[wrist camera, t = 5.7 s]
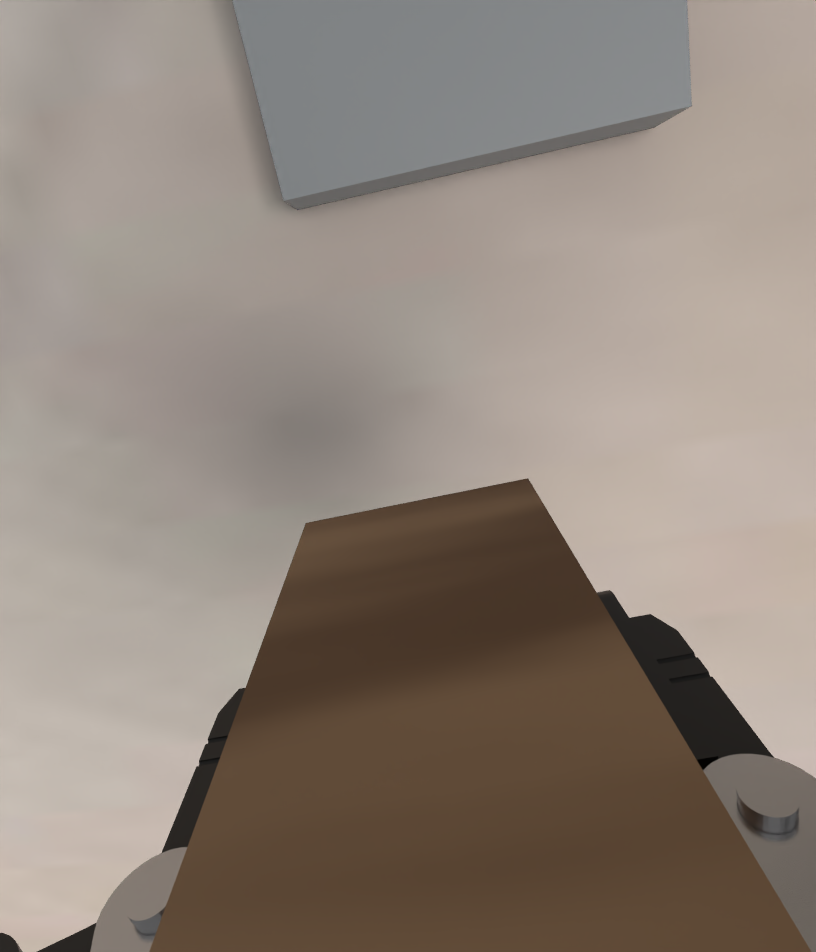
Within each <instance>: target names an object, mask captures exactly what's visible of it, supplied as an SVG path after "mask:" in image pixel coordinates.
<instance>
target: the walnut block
mask: <svg viewBox="0 0 816 952" xmlns="http://www.w3.org/2000/svg"><path fill="white" fill-rule="evenodd" d="M149 952H811V950H810V948H809V947H808V945H807V943H806V942H805V940H804V938H803V937H802V935H801V933H800V932H799V930H798V928H797V927H796V925H795V923H794V922H793V920H792V918H791V917H790V915H789V913H788V912H787V910H786V908H785V907H784V905H783V903H782V902H781V900H780V898H779V897H778V895H777V893H776V892H775V890H774V888H773V887H772V885H771V883H770V882H769V880H768V878H767V877H766V875H765V873H764V872H763V870H762V868H761V867H760V865H759V863H758V862H757V860H756V858H755V857H754V855H753V853H752V852H751V850H750V848H749V847H748V845H747V843H746V842H745V840H744V838H743V837H742V835H741V833H740V832H739V830H738V828H737V827H736V825H735V823H734V822H733V820H732V818H731V817H730V815H729V813H728V812H727V810H726V808H725V807H724V805H723V803H722V802H721V800H720V798H719V797H718V795H717V793H716V792H715V790H714V788H713V786H712V785H711V783H710V781H709V780H708V778H707V776H706V775H705V773H704V771H703V770H702V768H701V766H700V765H699V763H698V761H697V760H696V758H695V756H694V755H693V753H692V751H691V750H690V748H689V746H688V745H687V743H686V741H685V740H684V738H683V736H682V735H681V733H680V731H679V730H678V728H677V726H676V725H675V723H674V721H673V720H672V718H671V716H670V715H669V713H668V711H667V710H666V708H665V706H664V705H663V703H662V701H661V700H660V698H659V696H658V695H657V693H656V691H655V690H654V688H653V686H652V685H651V683H650V681H649V680H648V678H647V676H646V675H645V673H644V671H643V670H642V668H641V666H640V665H639V663H638V661H637V660H636V658H635V656H634V655H633V653H632V651H631V650H630V648H629V646H628V645H627V643H626V641H625V640H624V638H623V636H622V635H621V633H620V631H619V630H618V628H617V626H616V625H615V623H614V621H613V620H612V618H611V616H610V615H609V613H608V611H607V610H606V608H605V606H604V604H603V603H602V601H601V599H600V598H599V596H598V594H597V593H596V591H595V589H594V588H593V586H592V584H591V583H590V581H589V579H588V578H587V576H586V574H585V573H584V571H583V569H582V568H581V566H580V564H579V563H578V561H577V559H576V558H575V556H574V554H573V553H572V551H571V549H570V548H569V546H568V544H567V543H566V541H565V539H564V538H563V536H562V534H561V533H560V531H559V529H558V528H557V526H556V524H555V523H554V521H553V519H552V518H551V516H550V514H549V513H548V511H547V509H546V508H545V506H544V504H543V503H542V501H541V499H540V498H539V496H538V494H537V493H536V491H535V489H534V488H533V486H532V484H531V483H530V481H529V479H523V480H518V481H513V482H508V483H503V484H498V485H493V486H488V487H483V488H478V489H473V490H468V491H463V492H458V493H453V494H448V495H443V496H438V497H433V498H428V499H423V500H418V501H413V502H408V503H403V504H398V505H393V506H388V507H384V508H379V509H374V510H369V511H364V512H359V513H354V514H349V515H344V516H339V517H334V518H329V519H324V520H319V521H314V522H309V523H306V524H305V527H304V530H303V533H302V535H301V538H300V541H299V543H298V546H297V549H296V552H295V554H294V557H293V560H292V563H291V565H290V568H289V571H288V574H287V576H286V579H285V582H284V584H283V587H282V590H281V593H280V595H279V598H278V601H277V604H276V606H275V609H274V612H273V615H272V617H271V620H270V623H269V625H268V628H267V631H266V634H265V636H264V639H263V642H262V645H261V647H260V650H259V653H258V656H257V658H256V661H255V664H254V666H253V669H252V672H251V675H250V677H249V680H248V683H247V686H246V688H245V691H244V694H243V697H242V699H241V702H240V705H239V707H238V710H237V713H236V716H235V718H234V721H233V724H232V727H231V729H230V732H229V735H228V738H227V740H226V743H225V746H224V749H223V751H222V754H221V757H220V759H219V762H218V765H217V768H216V770H215V773H214V776H213V779H212V781H211V784H210V787H209V790H208V792H207V795H206V798H205V800H204V803H203V806H202V809H201V811H200V814H199V817H198V820H197V822H196V825H195V828H194V831H193V833H192V836H191V839H190V841H189V844H188V847H187V850H186V852H185V855H184V858H183V861H182V863H181V866H180V869H179V872H178V874H177V877H176V880H175V882H174V885H173V888H172V891H171V893H170V896H169V899H168V902H167V904H166V907H165V910H164V913H163V915H162V918H161V921H160V923H159V926H158V929H157V932H156V934H155V937H154V940H153V943H152V945H151V948H150V951H149Z"/></svg>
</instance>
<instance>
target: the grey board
mask: <svg viewBox="0 0 816 952" xmlns="http://www.w3.org/2000/svg"><path fill="white" fill-rule="evenodd" d="M232 1H233V5H234V9H235V13H236V17H237V21H238V25H239V29H240V33H241V37H242V40H243V44H244V48H245V52H246V56H247V60H248V64H249V68H250V72H251V76H252V80H253V84H254V87H255V91H256V95H257V99H258V103H259V107H260V111H261V115H262V119H263V123H264V127H265V130H266V134H267V138H268V142H269V146H270V150H271V154H272V158H273V162H274V166H275V170H276V173H277V177H278V181H279V185H280V189H281V193H282V197H283V201H285V202H286V203H288V204H289V205H291V206H292V207H294V208H296V209H297V210H299V209H303V208H308V207H312V206H316V205H321V204H325V203H329V202H334V201H338V200H342V199H347V198H351V197H355V196H360V195H364V194H368V193H373V192H377V191H381V190H386V189H390V188H394V187H399V186H403V185H407V184H412V183H416V182H420V181H424V180H429V179H433V178H437V177H442V176H446V175H450V174H455V173H459V172H463V171H468V170H472V169H476V168H481V167H485V166H489V165H494V164H498V163H502V162H507V161H511V160H515V159H520V158H524V157H528V156H533V155H537V154H541V153H546V152H550V151H554V150H559V149H563V148H567V147H572V146H576V145H580V144H585V143H589V142H593V141H598V140H602V139H606V138H611V137H615V136H619V135H623V134H628V133H632V132H636V131H641V130H645V129H649V128H654V127H656V126H658V125H659V124H661V123H663V122H665V121H666V120H668V119H670V118H672V117H673V116H675V115H677V114H679V113H680V112H682V111H684V110H686V109H687V108H689V107H691V106H692V102H691V79H690V55H689V32H688V9H687V0H232Z"/></svg>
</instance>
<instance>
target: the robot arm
mask: <svg viewBox="0 0 816 952" xmlns="http://www.w3.org/2000/svg"><path fill="white" fill-rule="evenodd" d="M597 594H598V596H599V598H600V599H601V601H602V603H603V604H604V606H605V608H606V610H607V611H608V613H609V615H610V616H611V618H612V620H613V621H614V623H615V625H616V626H617V628H618V630H619V631H620V633H621V635H622V636H623V638H624V640H625V641H626V643H627V645H628V646H629V648H630V650H631V651H632V653H633V655H634V656H635V658H636V660H637V661H638V663H639V665H640V666H641V668H642V670H643V671H644V673H645V675H646V676H647V678H648V680H649V681H650V683H651V685H652V686H653V688H654V690H655V691H656V693H657V695H658V696H659V698H660V700H661V701H662V703H663V705H664V706H665V708H666V710H667V711H668V713H669V715H670V716H671V718H672V720H673V721H674V723H675V725H676V726H677V728H678V730H679V731H680V733H681V735H682V736H683V738H684V740H685V741H686V743H687V745H688V746H689V748H690V750H691V751H692V753H693V755H694V756H695V758H696V760H697V761H698V763H699V765H700V766H701V768H702V770H703V771H704V773H705V775H706V776H707V778H708V780H709V781H710V783H711V785H712V786H713V788H714V790H715V792H716V793H717V795H718V797H719V798H720V800H721V802H722V803H723V805H724V807H725V808H726V810H727V812H728V813H729V815H730V817H731V818H732V820H733V822H734V823H735V825H736V827H737V828H738V830H739V832H740V833H741V835H742V837H743V838H744V840H745V842H746V843H747V845H748V847H749V848H750V850H751V852H752V853H753V855H754V857H755V858H756V860H757V862H758V863H759V865H760V867H761V868H762V870H763V872H764V873H765V875H766V877H767V878H768V880H769V882H770V883H771V885H772V887H773V888H774V890H775V892H776V893H777V895H778V897H779V898H780V900H781V902H782V903H783V905H784V907H785V908H786V910H787V912H788V913H789V915H790V917H791V918H792V920H793V922H794V923H795V925H796V927H797V928H798V930H799V932H800V933H801V935H802V937H803V938H804V940H805V942H806V943H807V945H808V947H809V948H810V950H811V952H816V778H814V777H813V776H812V775H810V774H809V773H807V772H805V771H804V770H802V769H800V768H799V767H796V766H794V765H792V764H790V763H788V762H785V761H782V760H780V759H777V758H774V757H773V756H772V755H771V753H770V752H769V751H768V750H767V748H766V747H765V746H764V744H763V743H762V742H761V740H760V739H759V738H758V736H757V735H756V734H755V732H754V731H753V730H752V728H751V727H750V726H749V724H748V723H747V722H746V721H745V719H744V718H743V717H742V715H741V714H740V713H739V711H738V710H737V709H736V707H735V706H734V705H733V703H732V702H731V701H730V699H729V698H728V697H727V695H726V694H725V693H724V691H723V690H722V689H721V687H720V686H719V685H718V684H717V682H716V681H715V680H714V678H713V677H710V675H709V672H708V670H707V669H706V668H705V666H704V665H703V664H702V662H701V661H700V660H699V658H698V657H697V658H696V657H695V654H694V652H693V650H692V649H691V648H690V647H689V645H688V644H687V643H686V641H685V640H684V639H683V637H682V636H681V635H680V633H679V632H678V631H677V630H676V629H674V628H672V627H671V626H669V625H667V624H666V623H664V622H663V621H661V620H659V619H658V618H656V617H654V616H653V615H651V614H649V615H643V616H638V617H632V618H629V617H628V615H627V614H626V612H625V611H624V609H623V608H622V606H621V605H620V603H619V602H618V600H617V598H616V597H615V595H614V594H613V593H612V592H611V591H610V590H609V591H603V592H598V593H597ZM244 691H245V688H242V689H239V690H238V691H237V692H236V693H235V694H234V695H233V697H232V698H231V699H230V700H229V701H228V702H227V704H226V705H225V706H224V707H223V708H222V709H221V711H220V712H219V713H218V715H217V718H216V720H215V723H214V725H213V728H212V730H211V733H210V735H209V737H208V744H206V745H205V747H204V750H203V752H202V755H201V757H200V760H199V766H197V767H196V769H195V772H194V774H193V777H192V779H191V782H190V784H189V787H188V789H187V792H186V794H185V796H184V799H183V801H182V804H181V806H180V809H179V811H178V814H177V816H176V819H175V821H174V824H173V826H172V828H171V831H170V833H169V836H168V838H167V841H166V843H165V846H164V848H163V851H162V853H161V854H159V855H157V856H155V857H153V858H151V859H149V860H148V861H146V862H145V863H143V864H142V865H140V866H139V867H138V868H137V869H135V870H134V871H133V872H132V873H131V874H130V875H128V876H127V877H126V878H125V879H124V880H123V881H122V882H121V884H120V885H119V886H118V887H117V888H116V889H115V891H114V892H113V893H112V895H111V896H110V898H109V899H108V900H107V902H106V904H105V906H104V907H103V909H102V911H101V913H100V916H99V918H98V920H97V923H95V924H93V925H91V926H89V927H88V928H85V929H83V930H81V931H79V932H77V933H75V934H73V935H71V936H69V937H67V938H65V939H62V940H60V941H58V942H56V943H54V944H52V945H50V946H48V947H46V948H44V949H42V950H40V951H37V952H149V951H150V948H151V945H152V943H153V940H154V937H155V934H156V932H157V929H158V926H159V923H160V921H161V918H162V915H163V913H164V910H165V907H166V904H167V902H168V899H169V896H170V893H171V891H172V888H173V885H174V882H175V880H176V877H177V874H178V872H179V869H180V866H181V863H182V861H183V858H184V855H185V852H186V850H187V847H188V844H189V841H190V839H191V836H192V833H193V831H194V828H195V825H196V822H197V820H198V817H199V814H200V811H201V809H202V806H203V803H204V800H205V798H206V795H207V792H208V790H209V787H210V784H211V781H212V779H213V776H214V773H215V770H216V768H217V765H218V762H219V759H220V757H221V754H222V751H223V749H224V746H225V743H226V740H227V738H228V735H229V732H230V729H231V727H232V724H233V721H234V718H235V716H236V713H237V710H238V707H239V705H240V702H241V699H242V697H243V694H244ZM0 952H22V950H21V949H20V947H19V946H18V944H17V943H16V941H15V940H14V939H13V938H12V937H11V936H9V935H7V934H4V933H0Z"/></svg>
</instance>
